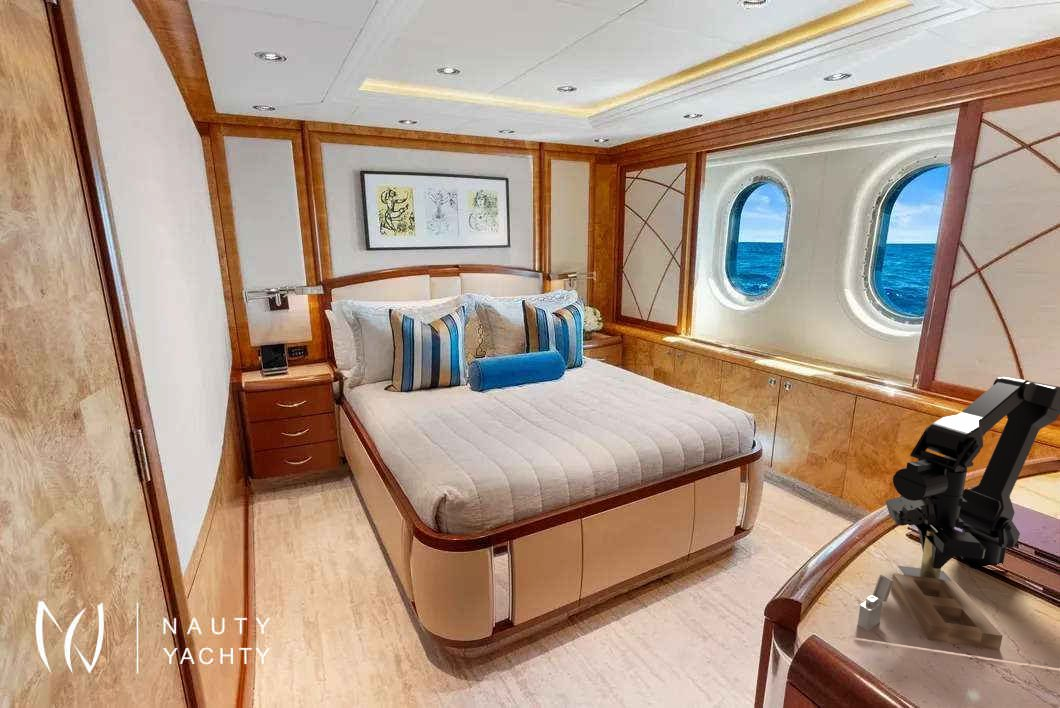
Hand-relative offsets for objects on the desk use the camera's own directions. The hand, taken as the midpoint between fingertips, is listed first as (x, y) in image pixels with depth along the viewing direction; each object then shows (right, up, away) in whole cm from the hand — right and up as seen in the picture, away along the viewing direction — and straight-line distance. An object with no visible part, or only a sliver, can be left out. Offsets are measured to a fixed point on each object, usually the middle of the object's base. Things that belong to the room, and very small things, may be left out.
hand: (931, 562), depth 98 cm
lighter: (-18, -6, -10) cm, 22 cm away
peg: (0, -3, +1) cm, 4 cm away
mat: (0, -4, +1) cm, 4 cm away
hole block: (-6, -6, -9) cm, 12 cm away
